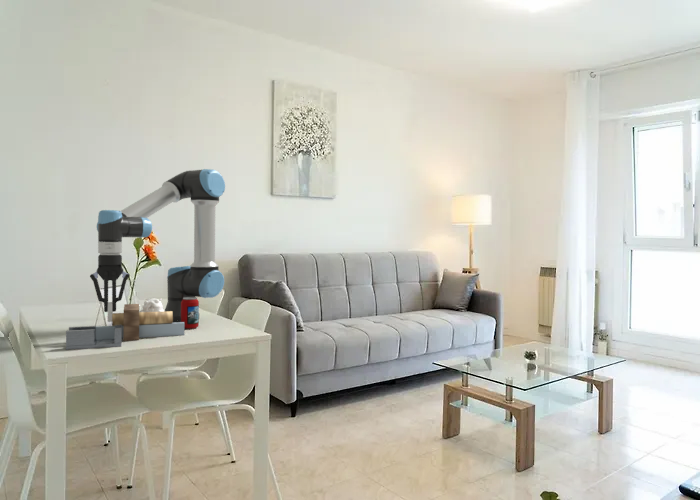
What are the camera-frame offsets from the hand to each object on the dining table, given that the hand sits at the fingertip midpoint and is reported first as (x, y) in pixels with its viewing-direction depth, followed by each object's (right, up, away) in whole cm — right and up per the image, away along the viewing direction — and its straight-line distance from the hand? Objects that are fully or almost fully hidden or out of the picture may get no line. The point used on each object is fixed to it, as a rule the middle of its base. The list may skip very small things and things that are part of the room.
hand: (110, 321), depth 181 cm
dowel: (+10, 0, +4) cm, 11 cm away
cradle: (0, -7, -11) cm, 13 cm away
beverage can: (+21, -6, +23) cm, 32 cm away
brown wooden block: (+5, -6, +5) cm, 10 cm away
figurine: (+7, -6, +20) cm, 23 cm away
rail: (+9, -6, +4) cm, 12 cm away
